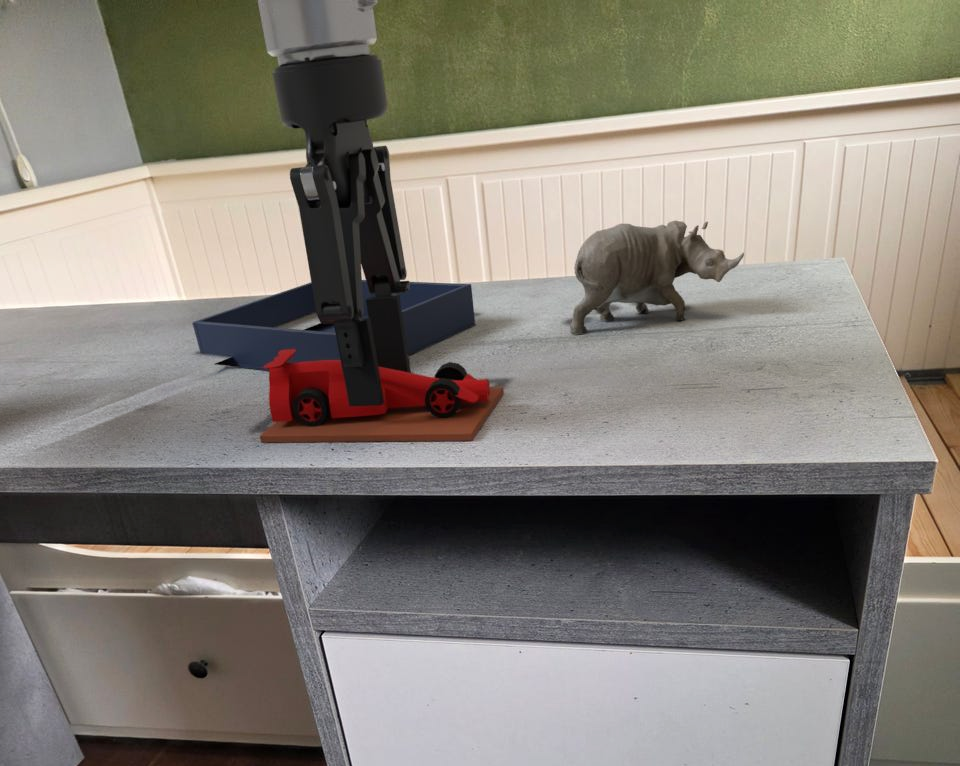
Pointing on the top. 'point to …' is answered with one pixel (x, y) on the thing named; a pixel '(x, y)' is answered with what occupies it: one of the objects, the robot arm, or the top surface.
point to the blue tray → (257, 342)
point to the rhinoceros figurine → (642, 268)
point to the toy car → (324, 390)
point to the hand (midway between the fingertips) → (381, 389)
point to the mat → (390, 425)
